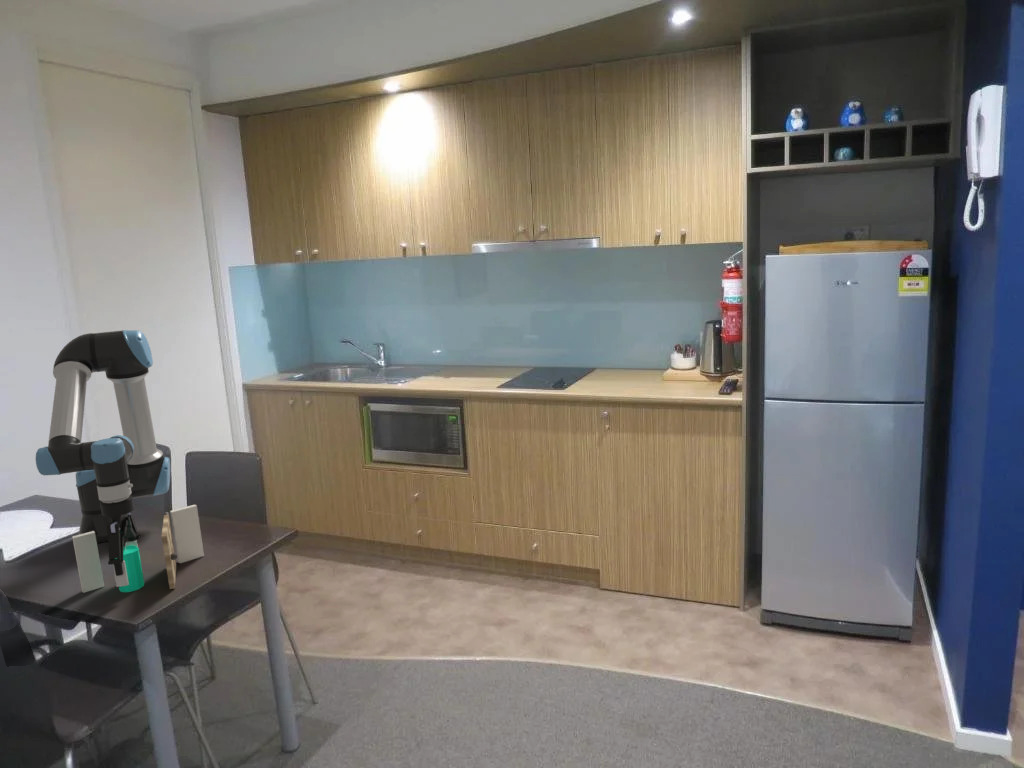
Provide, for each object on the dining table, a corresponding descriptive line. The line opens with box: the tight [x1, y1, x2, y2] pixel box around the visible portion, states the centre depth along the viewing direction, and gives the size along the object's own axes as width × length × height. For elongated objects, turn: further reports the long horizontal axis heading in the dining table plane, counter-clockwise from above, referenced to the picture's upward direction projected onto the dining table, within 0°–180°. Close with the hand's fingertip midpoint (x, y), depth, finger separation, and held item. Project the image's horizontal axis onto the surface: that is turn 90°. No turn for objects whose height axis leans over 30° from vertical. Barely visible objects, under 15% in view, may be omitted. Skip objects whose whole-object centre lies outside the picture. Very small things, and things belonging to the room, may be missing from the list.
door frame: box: [71, 504, 205, 593], centre depth 200 cm, size 2×31×15 cm, turn 130°
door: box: [161, 514, 178, 590], centre depth 197 cm, size 17×3×15 cm, turn 23°
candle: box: [115, 545, 145, 593], centre depth 192 cm, size 6×6×12 cm
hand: (129, 574), depth 192 cm, fingers open, 13 cm apart
